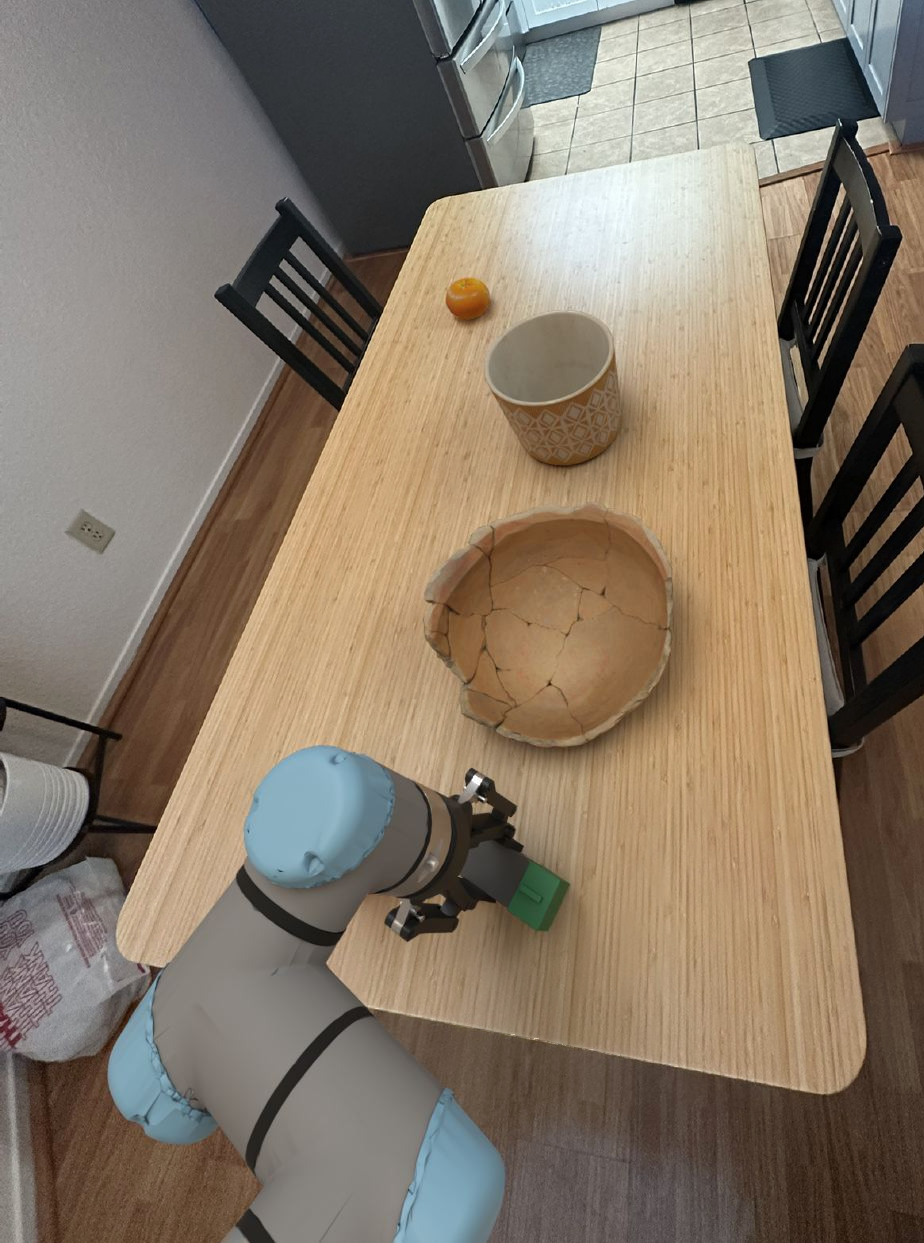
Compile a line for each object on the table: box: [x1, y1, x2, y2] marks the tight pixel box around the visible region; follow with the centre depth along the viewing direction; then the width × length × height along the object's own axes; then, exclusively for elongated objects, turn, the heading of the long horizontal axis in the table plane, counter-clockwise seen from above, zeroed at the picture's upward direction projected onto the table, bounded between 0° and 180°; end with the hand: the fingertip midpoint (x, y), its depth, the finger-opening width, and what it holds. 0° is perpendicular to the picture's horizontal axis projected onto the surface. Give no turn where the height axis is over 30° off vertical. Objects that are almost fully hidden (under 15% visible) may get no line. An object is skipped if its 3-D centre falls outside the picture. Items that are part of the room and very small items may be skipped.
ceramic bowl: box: [422, 501, 675, 749], centre depth 79 cm, size 30×27×15 cm
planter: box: [483, 309, 623, 466], centre depth 99 cm, size 19×19×16 cm
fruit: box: [445, 277, 491, 321], centre depth 126 cm, size 8×8×8 cm
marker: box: [459, 840, 571, 932], centre depth 66 cm, size 15×5×5 cm, turn 61°
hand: (499, 866), depth 68 cm, fingers closed on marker, 4 cm apart
